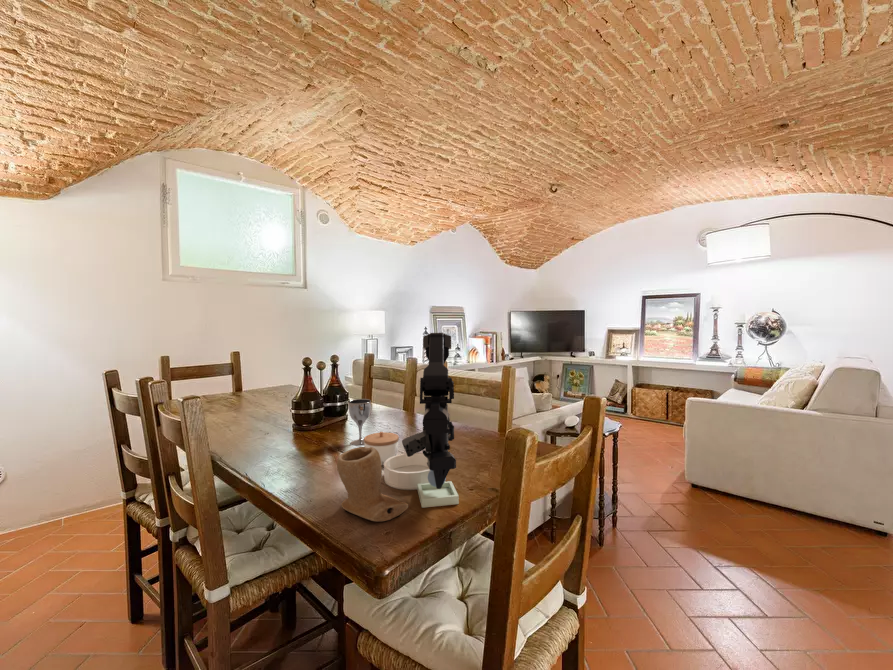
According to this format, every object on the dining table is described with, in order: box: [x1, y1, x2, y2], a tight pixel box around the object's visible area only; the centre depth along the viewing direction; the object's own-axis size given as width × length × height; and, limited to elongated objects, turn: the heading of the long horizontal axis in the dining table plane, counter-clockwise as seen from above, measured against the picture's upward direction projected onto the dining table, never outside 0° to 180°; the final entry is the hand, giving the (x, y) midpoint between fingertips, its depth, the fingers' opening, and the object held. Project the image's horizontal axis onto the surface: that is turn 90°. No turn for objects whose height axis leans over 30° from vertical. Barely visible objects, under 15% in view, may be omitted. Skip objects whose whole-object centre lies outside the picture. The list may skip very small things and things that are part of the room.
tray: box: [417, 480, 460, 509], centre depth 104 cm, size 9×9×2 cm
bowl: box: [383, 452, 430, 491], centre depth 116 cm, size 15×15×4 cm
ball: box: [428, 470, 447, 487], centre depth 104 cm, size 5×5×5 cm
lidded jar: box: [363, 431, 400, 466], centre depth 129 cm, size 11×11×9 cm
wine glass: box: [347, 398, 372, 447], centre depth 149 cm, size 8×8×15 cm
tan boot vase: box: [336, 446, 409, 522], centre depth 96 cm, size 15×12×15 cm
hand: (437, 484), depth 104 cm, fingers closed on ball, 4 cm apart
